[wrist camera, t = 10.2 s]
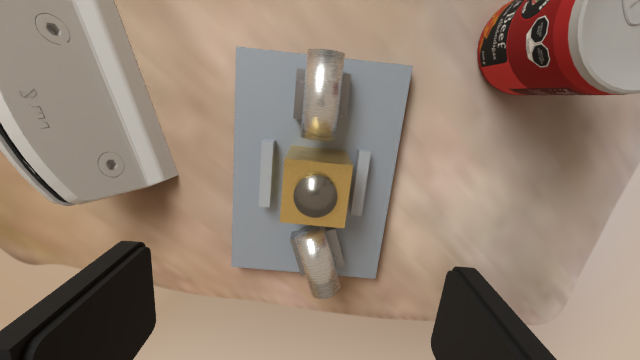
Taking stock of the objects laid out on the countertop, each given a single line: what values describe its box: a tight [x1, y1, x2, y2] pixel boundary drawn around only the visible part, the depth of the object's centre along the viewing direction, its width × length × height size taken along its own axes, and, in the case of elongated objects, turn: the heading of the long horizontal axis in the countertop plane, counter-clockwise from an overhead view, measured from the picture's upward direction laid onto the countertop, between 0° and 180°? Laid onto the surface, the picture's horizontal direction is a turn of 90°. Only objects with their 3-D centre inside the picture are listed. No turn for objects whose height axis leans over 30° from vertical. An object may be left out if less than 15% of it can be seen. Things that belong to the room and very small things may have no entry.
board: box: [232, 47, 413, 279], centre depth 28 cm, size 21×15×3 cm
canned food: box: [477, 0, 640, 95], centre depth 21 cm, size 8×8×11 cm
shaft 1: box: [293, 49, 351, 141], centre depth 24 cm, size 6×4×6 cm
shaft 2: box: [290, 225, 345, 299], centre depth 28 cm, size 6×4×6 cm
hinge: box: [0, 0, 178, 206], centre depth 24 cm, size 17×5×10 cm, turn 13°
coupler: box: [280, 145, 353, 228], centre depth 25 cm, size 5×5×7 cm
